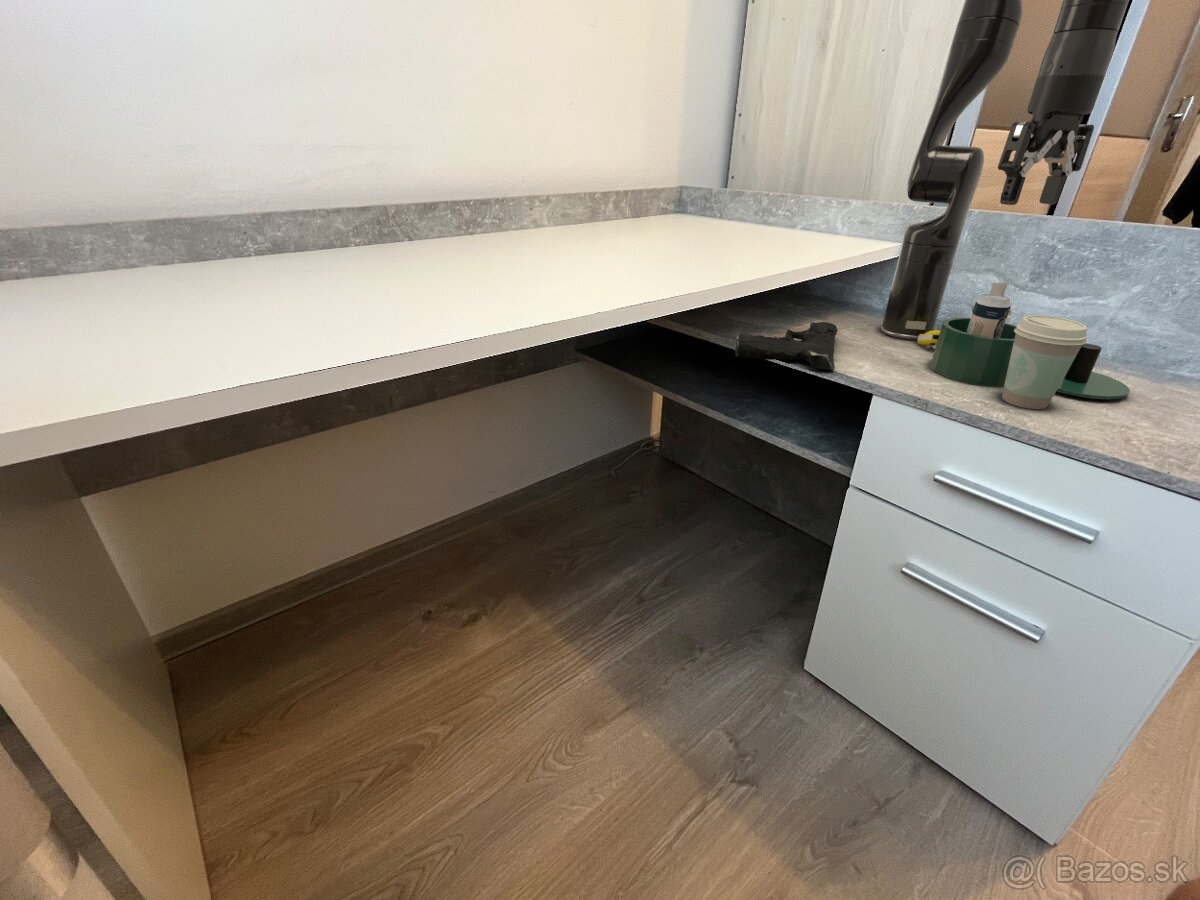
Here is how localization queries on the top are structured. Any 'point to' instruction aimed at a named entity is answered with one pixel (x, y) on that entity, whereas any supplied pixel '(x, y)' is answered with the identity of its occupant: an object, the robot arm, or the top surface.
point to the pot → (972, 354)
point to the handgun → (792, 346)
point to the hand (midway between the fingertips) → (1027, 204)
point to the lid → (1090, 378)
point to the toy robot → (998, 290)
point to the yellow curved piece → (929, 338)
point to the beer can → (989, 316)
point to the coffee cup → (1041, 359)
